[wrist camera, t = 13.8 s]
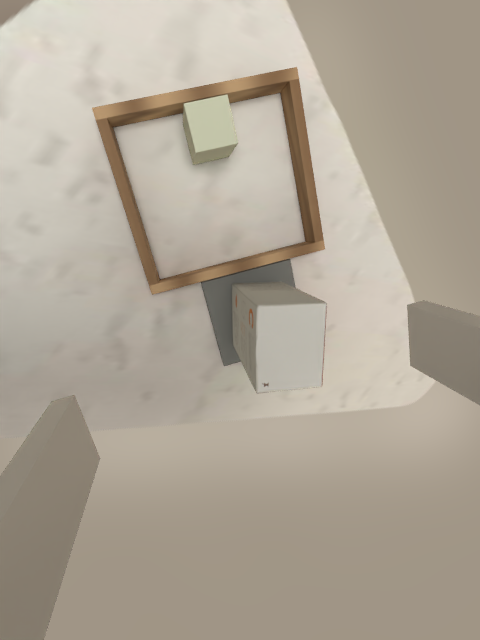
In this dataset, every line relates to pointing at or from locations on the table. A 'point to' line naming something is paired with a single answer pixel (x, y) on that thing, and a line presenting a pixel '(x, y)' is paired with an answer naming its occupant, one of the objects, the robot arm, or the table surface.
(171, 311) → the table surface
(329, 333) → the table surface
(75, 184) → the table surface
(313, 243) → the bin
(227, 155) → the sage block
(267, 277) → the mat
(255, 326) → the small box
